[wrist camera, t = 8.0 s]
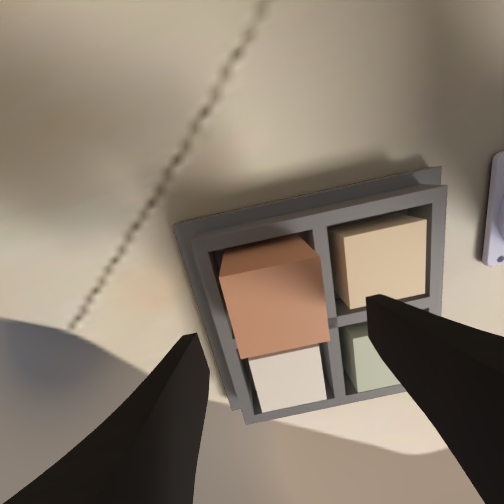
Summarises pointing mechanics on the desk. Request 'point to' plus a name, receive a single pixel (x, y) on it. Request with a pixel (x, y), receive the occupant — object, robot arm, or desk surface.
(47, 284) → the desk surface
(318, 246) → the frame board
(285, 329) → the terracotta block
